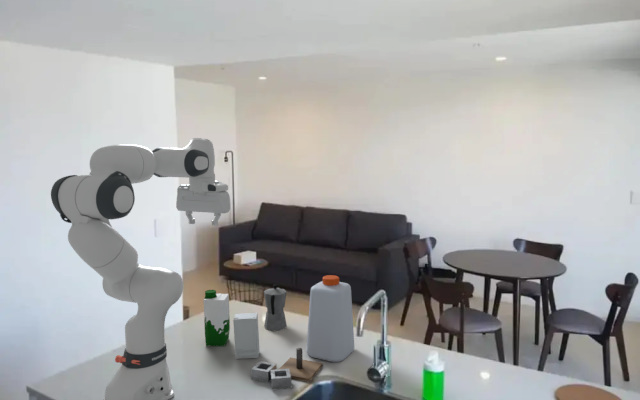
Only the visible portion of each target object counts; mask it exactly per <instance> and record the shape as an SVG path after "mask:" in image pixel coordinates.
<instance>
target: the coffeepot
mask: <svg viewBox="0 0 640 400" xmlns="http://www.w3.org/2000/svg"><path fill="white" fill-rule="evenodd" d="M272 286H273V288H268V289H266V290H264V291H263V295H264V301H265V307H266V313H265V320H264V328H265V330H266V331H267V330H268V331H271V332H277V331H278V332H279V331H282V330H284V329H286V328H287V321H286V315H285V310H284V308H285V306H286V298H287V290H286V289H284V288H280V287H278V285H277V284H272Z"/></svg>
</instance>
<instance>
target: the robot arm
mask: <svg viewBox="0 0 640 400" xmlns="http://www.w3.org/2000/svg"><path fill="white" fill-rule="evenodd" d="M215 155H216V154H215V148H214V144H213V141H211V140H210V139H208V138H201V137H200V138H199V137H194V138H191V139H190V140H189V143H188V144H187V145H186V146H185V147H183V148H180V147H170V148H169V147H157V148H154V149H153V150H151V149H149V148H148V147H146V146H142V145H138V144H127V143H126V144H123V143H122V144H112V145H108V146H102V147H100V148H97V149H95V151H94V152H93V153H92V154H91V156H90V159H89V169H90V172H89V173H88V174H84V175H83V174H82V175H76V174H73V175H72V174H71V175H65V176H63V177H61V178H58V179H57V180H56V181H55V182H54V183H53V185H52V187H51V190H50V198H51V201H52V205H53V207H54V209H55V211H57V212H58V213H59V216H60V218H61V220H62V221H64V223H65V222H66V223H69V224H71V227H70V228H69V230H68V233H67V241H68V243H69V245H70V247H71V248H72V250H73V251H74V252H75V253H76V254H77V255H78V256H79V258H80V259H81V260H82V261H83V262H84V263H85V264H87V265H88V266H89V267H90V268H91V269H93V270H94V271H95V272H96V273H97V274H99V276H101V277H102V290H103V292H104V293H105V295H107V296H108V297H110V298H113V299H115V300H118V301H121V302H128V303H135V304H137V313H136V314H135V315H133V316H131V317H130V318H129V319H128V320H127V321H126V323H125V325H124V333H125V334H124V336H125V337H124V338H125V348H124V351H123V355H116V356H115V358H114V363H120V367H119V368H118V369H117V370H116V372H115V374H114V375H113V377H112V378H111V379H110V381H109V382H108V384H107V385H106V386H105V390H104V391H105V392H104V399H103V400H170V399H171V398H174V396H175V393H174V392H175V391H174V390H173V385H172V383H171V382H172V381H171V375H170V369H169V366H168V363H167V353H168V352H167V351H168V350H167V349H168V348H167V343H166V341H165V339H166V338H165V323H166V317H167V315H168V312H169V310H170V308H172V306H173V305H174V304H176V303H177V302H178V301H179V300H180V298H181V297H182V294H183V292H184V281H183V278H182V276H181V275H180V274H179V273H178V272H176V271H173V270H170V269H168V268H167V267H166V268H165V267H158V266H157V267H156V266H148V265H143V264H141V263H138V261H139V260H138V259H139V255H138V251H137V250H136V248H134V246H132V245H131V243H129V241H127V239H125V238H124V237H123V235H121V234H120V233H119V231H118V230H116V229H115V228H114V227H113V226H112V224H111V222H110V220H119V219H122V218H124V217H127V216H128V215H129V214H130V213H131V211H132V210H133V207H134V205H135V200H136V199H135V191H134V187H133V185H134V184H140V183H144V182H146V181H148V180H150V179H152V178H153V175H154V176H156V177H157V178H188V183H189V184H180V185H179V186H178V187H177V190H176V191H177V195H176V210H177V211H179V212H185V216H186V218H187V220H188V224H189V225H194V224H196V218H194V217H193V215H192V214H193V212H194V213H211V214H213V216H214V219H212V220H211V226H213V227H217V226H218V225H219V219H220V218H221V216H222V214H227V213H229V212H230V211H231V199H230V198H231V197H230V194H229V192H228V191H229V185H228V184H227V183H224V182H222V181H219V180H217V179H216V174H215V171H214V170H215V166H216V158H215V157H216V156H215ZM132 184H133V185H132Z"/></svg>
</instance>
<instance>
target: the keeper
mask: <svg viewBox="0 0 640 400" xmlns="http://www.w3.org/2000/svg"><path fill="white" fill-rule="evenodd" d="M295 352H296V353H295V355H296V357H289V358H288V359H287V360H286V361H285V362H283V363H284V364H282V365H281V366H280V367H279V368H278V369H289V370H290V375H291V380H297V381H303V382H307V383H308V382H309V383H310V382H311V381H312V380H313V378H315V376H316V375H317V374H318V372H319V371H320V370H321V369H322V367H323V365H324V364H323V362H319V361H312V360H307V359H303V347H297V348H296V350H295ZM319 369H320V370H319Z"/></svg>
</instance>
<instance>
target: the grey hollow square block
mask: <svg viewBox="0 0 640 400" xmlns="http://www.w3.org/2000/svg"><path fill="white" fill-rule="evenodd" d="M276 369H277V363H273V362H267V361H261V360H260V361H259V362H257V363H256V364H255V365H254V366H253V367H252V368H251V369H250V370H251V372H250V373H251V375H250V380H252V381H253V380H254V381H257V382H263V383H269V382H271V380H270V370H276Z"/></svg>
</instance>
